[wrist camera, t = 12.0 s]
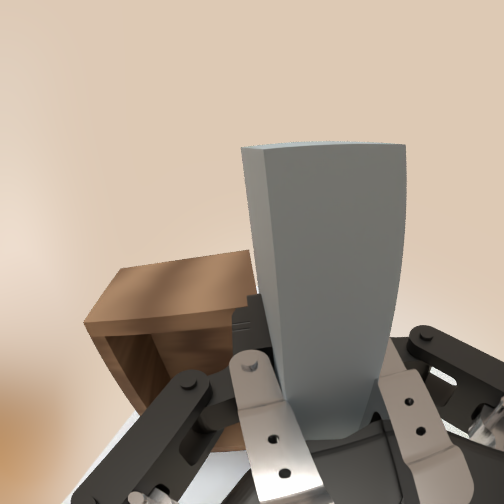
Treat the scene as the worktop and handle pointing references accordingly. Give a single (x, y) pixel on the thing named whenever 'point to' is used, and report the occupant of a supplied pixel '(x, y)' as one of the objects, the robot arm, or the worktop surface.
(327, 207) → the door
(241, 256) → the cabinet
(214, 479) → the worktop surface
